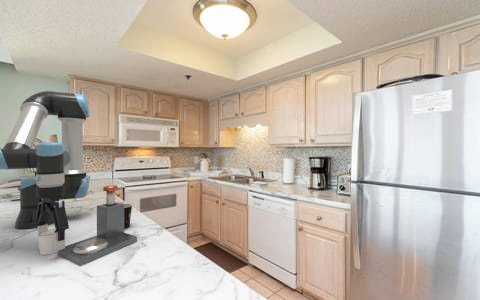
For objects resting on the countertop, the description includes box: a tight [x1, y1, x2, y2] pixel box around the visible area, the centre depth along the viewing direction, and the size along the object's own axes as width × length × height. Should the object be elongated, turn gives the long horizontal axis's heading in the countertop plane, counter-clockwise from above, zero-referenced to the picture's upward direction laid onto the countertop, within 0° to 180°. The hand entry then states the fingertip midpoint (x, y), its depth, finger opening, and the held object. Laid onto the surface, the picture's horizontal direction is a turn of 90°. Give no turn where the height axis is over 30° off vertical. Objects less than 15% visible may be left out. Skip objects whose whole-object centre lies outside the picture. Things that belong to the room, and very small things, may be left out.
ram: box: [102, 184, 119, 206], centre depth 88 cm, size 5×5×12 cm
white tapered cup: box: [37, 228, 58, 256], centre depth 78 cm, size 7×7×7 cm
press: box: [57, 201, 138, 266], centre depth 81 cm, size 15×20×14 cm
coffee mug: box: [123, 203, 133, 230], centre depth 102 cm, size 12×9×10 cm
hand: (51, 246), depth 77 cm, fingers open, 12 cm apart
